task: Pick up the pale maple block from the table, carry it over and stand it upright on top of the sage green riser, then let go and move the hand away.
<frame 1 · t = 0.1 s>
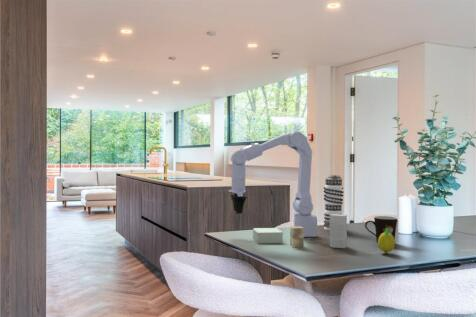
hand: (238, 212, 174), 10 cm above the table, tool pointing down, fingers open, 7 cm apart
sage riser: (267, 240, 167), on the table
skincare box: (338, 247, 156), on the table
maple block: (296, 245, 157), on the table
lemon: (386, 254, 145), on the table
decorative candle: (333, 229, 195), on the table
coffee mug: (381, 243, 164), on the table
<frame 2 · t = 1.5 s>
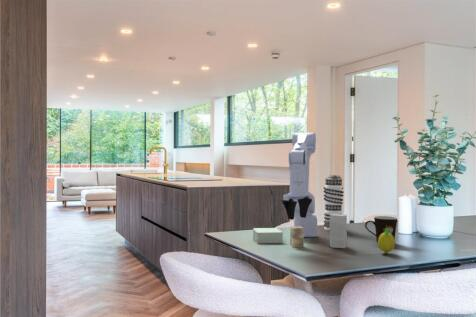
hand: (297, 218, 157), 10 cm above the table, tool pointing down, fingers open, 7 cm apart
nothing on the table moved.
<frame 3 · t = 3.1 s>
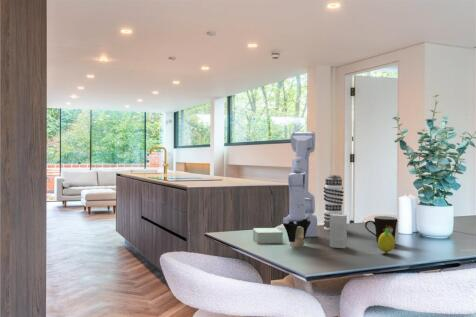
hand: (296, 240, 157), 2 cm above the table, tool pointing down, fingers closed on maple block, 6 cm apart
maple block: (296, 245, 157), on the table, touching gripper
everything else where it was.
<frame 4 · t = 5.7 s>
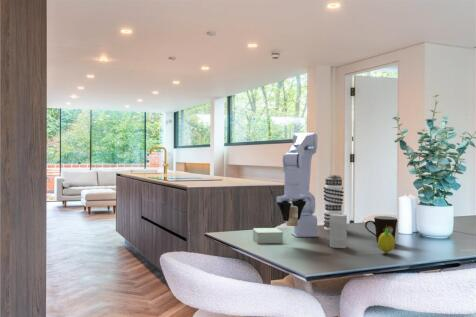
hand: (291, 220, 159), 9 cm above the table, tool pointing down, fingers closed on maple block, 6 cm apart
maple block: (291, 225, 158), point 7 cm above the table, touching gripper
everything else where it was.
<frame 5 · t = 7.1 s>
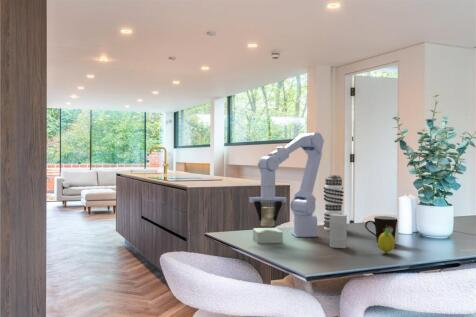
hand: (267, 220, 166), 8 cm above the table, tool pointing down, fingers closed on maple block, 6 cm apart
maple block: (267, 225, 166), point 6 cm above the table, touching gripper
everything else where it was.
when the fingers open (7 cm above the table, at t = 8.3 s): maple block stays where it is, resting on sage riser.
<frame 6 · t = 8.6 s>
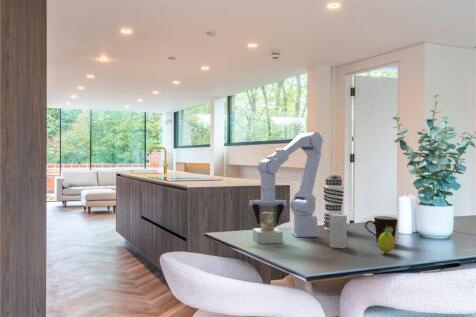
hand: (267, 223, 167), 7 cm above the table, tool pointing down, fingers open, 7 cm apart
maple block: (267, 230, 166), point 4 cm above the table, touching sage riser
everything else where it was.
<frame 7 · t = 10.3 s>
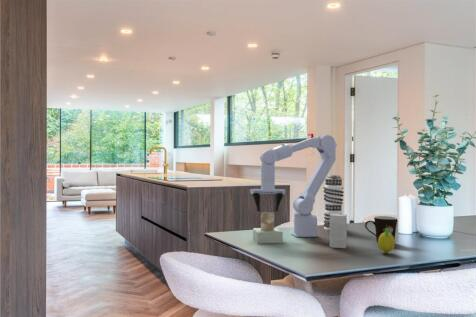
hand: (267, 211, 176), 10 cm above the table, tool pointing down, fingers open, 7 cm apart
nothing on the table moved.
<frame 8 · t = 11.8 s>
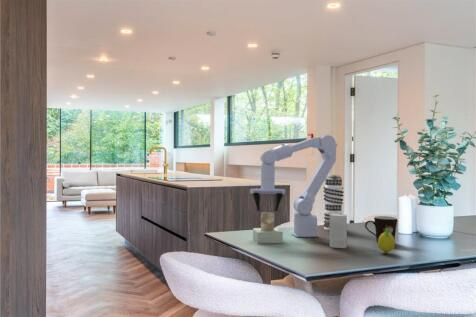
hand: (267, 210, 177), 10 cm above the table, tool pointing down, fingers open, 7 cm apart
nothing on the table moved.
at the end: maple block inside the target area on the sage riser (0.1 cm from its centre), point 4.0 cm above the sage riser's base; maple block tilted 0°; the gripper is holding nothing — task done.
